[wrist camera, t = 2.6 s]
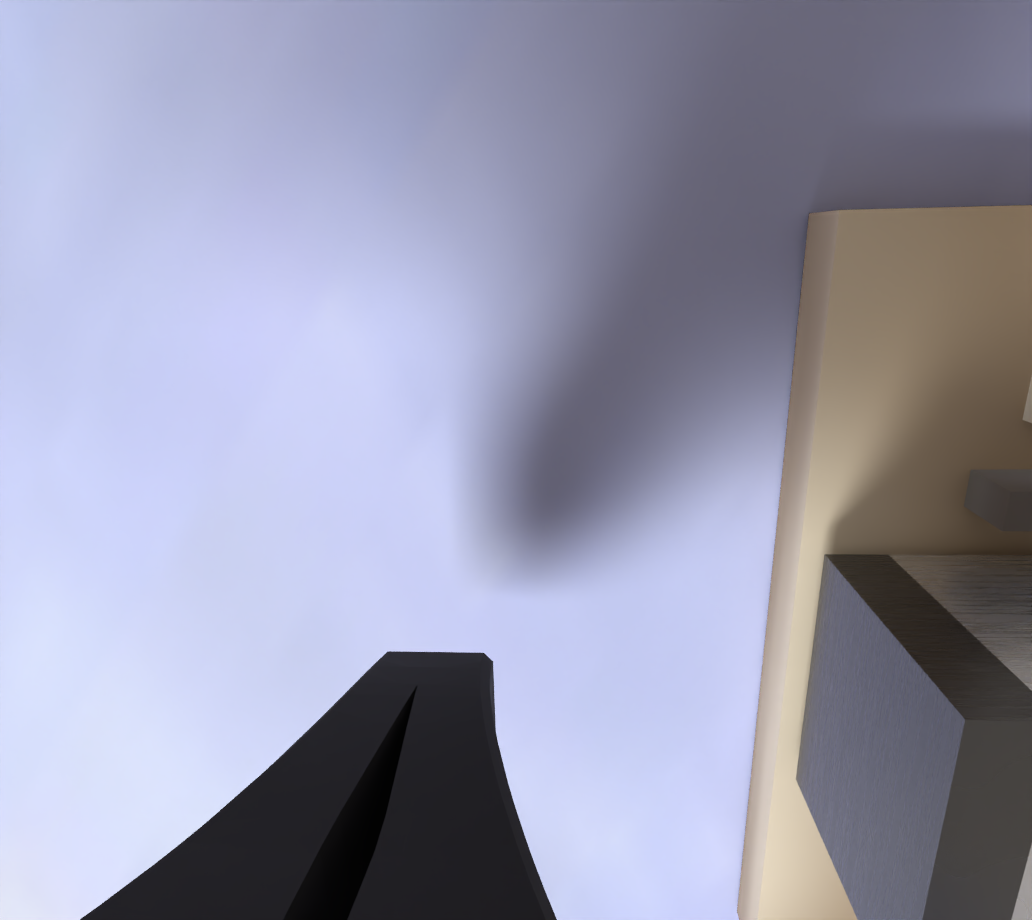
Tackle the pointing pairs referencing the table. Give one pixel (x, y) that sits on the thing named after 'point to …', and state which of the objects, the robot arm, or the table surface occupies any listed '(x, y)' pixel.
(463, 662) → the robot arm
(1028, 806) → the block with upright rod
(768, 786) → the bench
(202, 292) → the table surface
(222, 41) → the table surface
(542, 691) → the table surface
